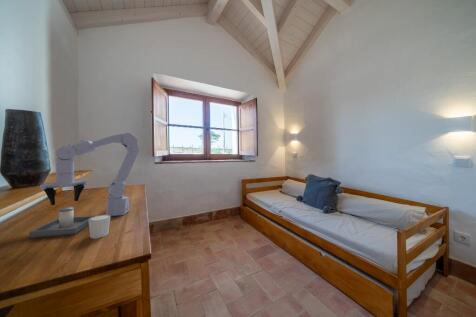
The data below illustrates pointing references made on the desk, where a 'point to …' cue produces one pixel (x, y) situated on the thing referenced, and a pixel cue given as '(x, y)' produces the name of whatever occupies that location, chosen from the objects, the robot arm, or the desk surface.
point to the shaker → (66, 217)
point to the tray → (53, 229)
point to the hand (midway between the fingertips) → (65, 202)
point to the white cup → (99, 226)
